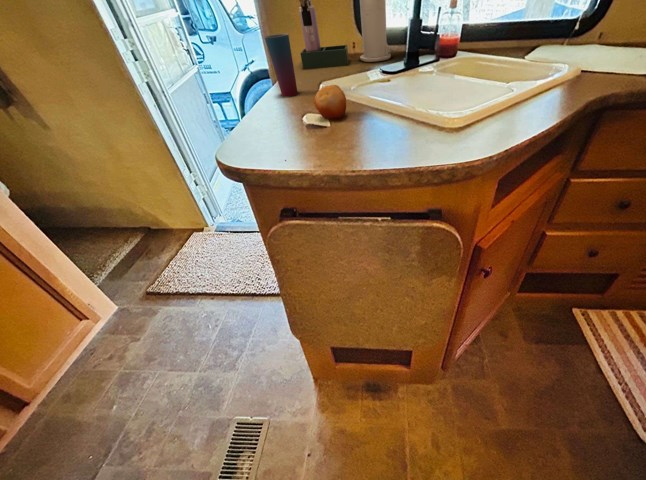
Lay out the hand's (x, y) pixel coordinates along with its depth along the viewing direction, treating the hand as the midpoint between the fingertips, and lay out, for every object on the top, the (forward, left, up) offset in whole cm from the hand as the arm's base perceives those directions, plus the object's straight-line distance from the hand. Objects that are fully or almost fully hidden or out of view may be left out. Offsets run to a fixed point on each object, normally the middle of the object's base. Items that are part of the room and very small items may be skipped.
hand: (309, 24), depth 118 cm
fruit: (-12, +64, -13) cm, 67 cm away
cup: (+4, +39, -13) cm, 41 cm away
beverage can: (0, 0, -10) cm, 10 cm away
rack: (-4, 0, -13) cm, 14 cm away
